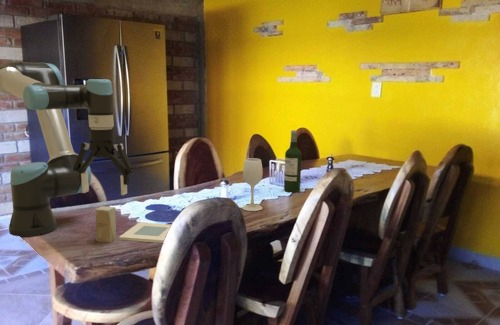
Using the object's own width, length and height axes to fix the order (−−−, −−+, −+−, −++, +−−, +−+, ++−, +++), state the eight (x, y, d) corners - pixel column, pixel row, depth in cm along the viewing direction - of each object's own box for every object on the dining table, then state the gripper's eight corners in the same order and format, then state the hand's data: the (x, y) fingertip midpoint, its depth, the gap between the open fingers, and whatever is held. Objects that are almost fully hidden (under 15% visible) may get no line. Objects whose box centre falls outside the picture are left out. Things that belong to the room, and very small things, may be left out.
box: (96, 241, 144) (94, 209, 143) (102, 237, 149) (101, 205, 147) (110, 242, 144) (109, 210, 142) (117, 238, 148) (115, 206, 146)
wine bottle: (282, 191, 215) (284, 131, 209) (286, 188, 222) (287, 129, 217) (298, 193, 212) (300, 131, 207) (301, 189, 220) (303, 130, 214)
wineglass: (257, 204, 191) (258, 157, 188) (265, 210, 183) (266, 160, 180) (239, 206, 188) (239, 158, 184) (246, 212, 180) (247, 161, 176)
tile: (119, 239, 146) (119, 236, 146) (139, 224, 162) (139, 222, 162) (164, 243, 144) (164, 240, 143) (180, 227, 159) (180, 225, 159)
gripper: (58, 128, 138) (63, 193, 142) (133, 130, 134) (135, 197, 137) (72, 126, 145) (76, 188, 149) (143, 128, 141) (145, 192, 145)
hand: (104, 193), depth 143 cm, fingers open, 13 cm apart
